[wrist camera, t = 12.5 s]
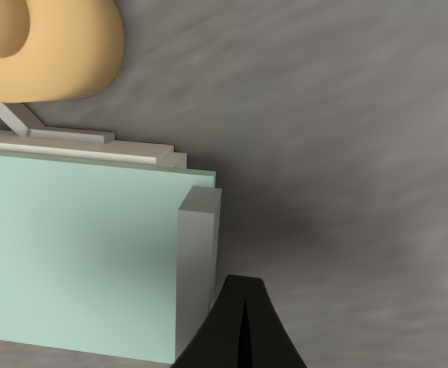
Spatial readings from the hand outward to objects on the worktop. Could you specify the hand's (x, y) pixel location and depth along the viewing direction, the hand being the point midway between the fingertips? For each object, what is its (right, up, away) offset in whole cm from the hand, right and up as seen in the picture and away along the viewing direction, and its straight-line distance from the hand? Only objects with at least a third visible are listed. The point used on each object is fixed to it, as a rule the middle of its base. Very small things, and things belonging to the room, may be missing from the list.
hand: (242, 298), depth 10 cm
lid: (-6, +1, +1) cm, 6 cm away
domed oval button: (-7, +10, +1) cm, 13 cm away
